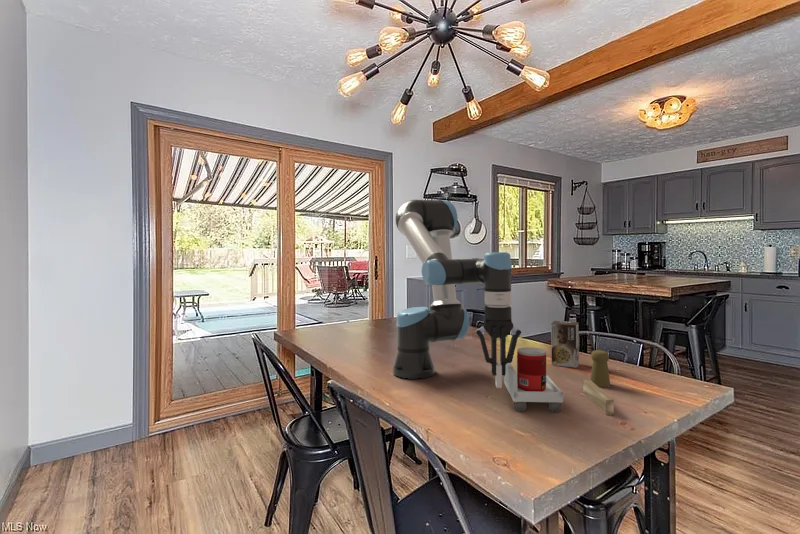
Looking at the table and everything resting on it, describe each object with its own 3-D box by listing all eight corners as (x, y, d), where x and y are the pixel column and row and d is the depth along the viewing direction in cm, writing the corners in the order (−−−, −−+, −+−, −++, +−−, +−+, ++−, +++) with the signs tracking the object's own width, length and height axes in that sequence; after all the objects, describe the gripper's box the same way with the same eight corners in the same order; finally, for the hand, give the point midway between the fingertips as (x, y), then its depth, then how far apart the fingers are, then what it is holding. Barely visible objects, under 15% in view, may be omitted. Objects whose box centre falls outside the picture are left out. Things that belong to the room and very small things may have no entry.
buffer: (605, 414, 105) (605, 399, 105) (583, 392, 121) (583, 379, 121) (613, 414, 105) (613, 399, 105) (590, 392, 121) (590, 380, 121)
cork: (609, 382, 130) (610, 349, 129) (611, 388, 124) (611, 354, 124) (589, 380, 132) (589, 347, 132) (589, 386, 127) (589, 352, 126)
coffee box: (579, 364, 151) (579, 322, 150) (576, 368, 145) (576, 325, 145) (554, 360, 156) (554, 320, 155) (550, 365, 150) (550, 322, 150)
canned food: (548, 393, 110) (548, 354, 110) (518, 391, 112) (518, 353, 111) (544, 384, 118) (544, 347, 117) (516, 382, 119) (515, 346, 119)
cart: (513, 411, 108) (513, 374, 107) (504, 391, 123) (503, 358, 122) (562, 412, 107) (562, 374, 106) (547, 392, 122) (547, 359, 121)
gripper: (476, 307, 111) (477, 390, 112) (523, 307, 110) (524, 391, 111) (473, 304, 119) (474, 381, 120) (518, 303, 117) (519, 382, 118)
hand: (498, 386), depth 115 cm, fingers closed
